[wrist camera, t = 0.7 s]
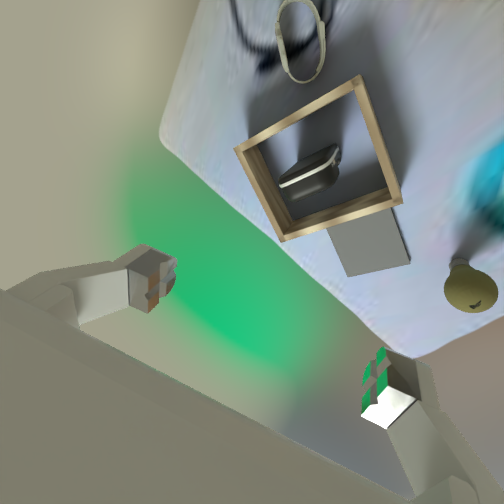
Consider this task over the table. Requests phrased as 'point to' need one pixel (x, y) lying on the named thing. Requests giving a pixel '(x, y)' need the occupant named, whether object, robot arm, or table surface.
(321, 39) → the wristwatch
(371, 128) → the box
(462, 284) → the light bulb
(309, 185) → the battery charger
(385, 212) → the pad
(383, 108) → the table surface
